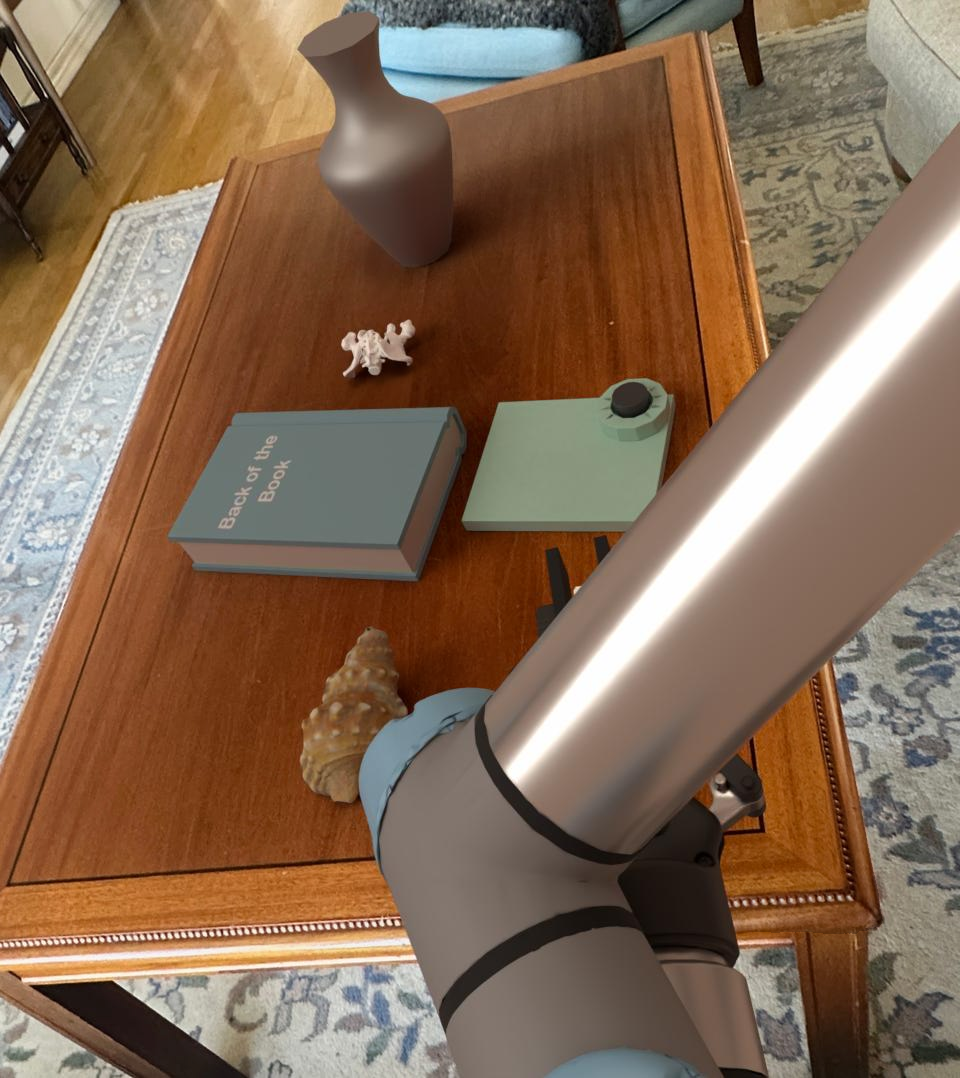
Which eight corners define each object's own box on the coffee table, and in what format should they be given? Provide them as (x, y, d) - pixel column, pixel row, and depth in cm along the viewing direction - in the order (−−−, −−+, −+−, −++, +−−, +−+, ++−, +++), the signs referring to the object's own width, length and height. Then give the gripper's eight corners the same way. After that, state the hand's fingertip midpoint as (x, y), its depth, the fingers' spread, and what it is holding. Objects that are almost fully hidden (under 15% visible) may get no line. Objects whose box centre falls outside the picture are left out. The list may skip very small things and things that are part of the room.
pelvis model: (410, 304, 99) (403, 342, 95) (423, 339, 102) (416, 377, 98) (337, 320, 101) (326, 358, 97) (352, 354, 104) (342, 392, 100)
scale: (676, 401, 85) (671, 376, 83) (654, 532, 77) (648, 507, 75) (503, 409, 91) (494, 385, 89) (466, 531, 83) (455, 508, 81)
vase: (472, 280, 105) (389, 53, 87) (351, 298, 110) (249, 86, 92) (493, 203, 114) (422, -20, 96) (380, 222, 119) (292, 14, 100)
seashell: (328, 731, 78) (313, 620, 74) (428, 737, 76) (418, 624, 73) (288, 806, 70) (269, 685, 66) (399, 814, 68) (386, 691, 64)
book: (195, 570, 90) (166, 536, 86) (262, 441, 99) (239, 406, 95) (418, 581, 81) (397, 544, 77) (469, 438, 90) (452, 399, 86)
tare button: (652, 392, 83) (649, 380, 82) (647, 417, 81) (644, 406, 80) (617, 394, 84) (614, 382, 83) (612, 419, 82) (609, 407, 81)
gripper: (507, 1027, 46) (475, 621, 61) (838, 975, 43) (718, 563, 59) (457, 982, 40) (436, 548, 56) (834, 918, 38) (702, 481, 53)
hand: (580, 557), depth 57 cm, fingers closed on chess piece, 2 cm apart
